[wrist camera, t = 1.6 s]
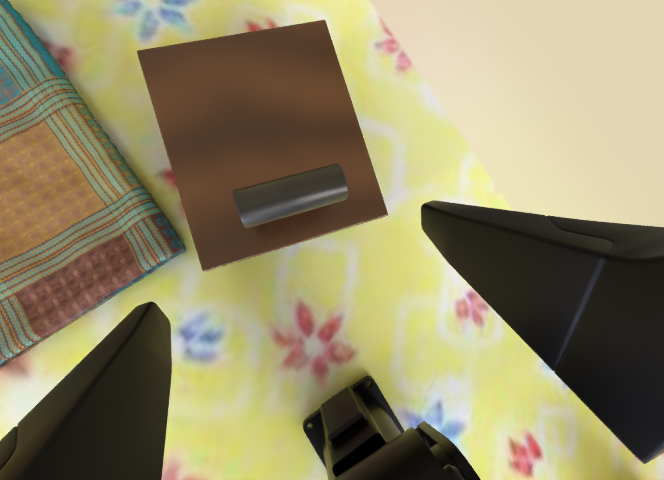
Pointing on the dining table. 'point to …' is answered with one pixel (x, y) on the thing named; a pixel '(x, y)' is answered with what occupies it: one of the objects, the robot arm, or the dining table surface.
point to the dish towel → (62, 201)
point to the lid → (261, 140)
